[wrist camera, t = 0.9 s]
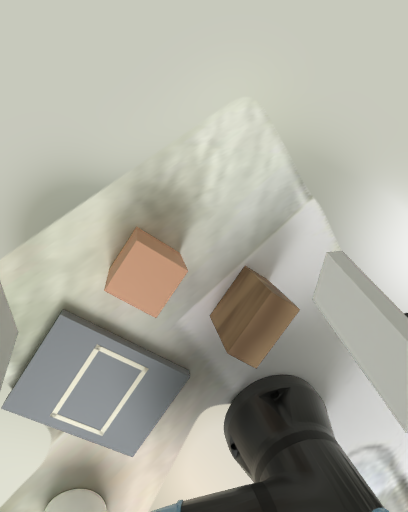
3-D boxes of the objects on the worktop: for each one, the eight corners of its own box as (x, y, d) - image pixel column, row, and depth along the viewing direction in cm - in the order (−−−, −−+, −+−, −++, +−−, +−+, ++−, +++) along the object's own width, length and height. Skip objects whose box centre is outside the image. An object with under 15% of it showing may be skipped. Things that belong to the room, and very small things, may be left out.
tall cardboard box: (268, 280, 44) (300, 309, 36) (233, 329, 45) (256, 368, 37) (245, 265, 43) (271, 291, 35) (209, 315, 44) (227, 353, 36)
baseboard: (188, 370, 46) (190, 377, 44) (132, 448, 48) (132, 457, 46) (63, 309, 40) (60, 314, 39) (5, 399, 42) (0, 408, 41)
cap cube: (179, 252, 41) (188, 270, 35) (152, 292, 42) (156, 318, 35) (136, 226, 39) (136, 240, 33) (109, 268, 40) (104, 290, 34)
